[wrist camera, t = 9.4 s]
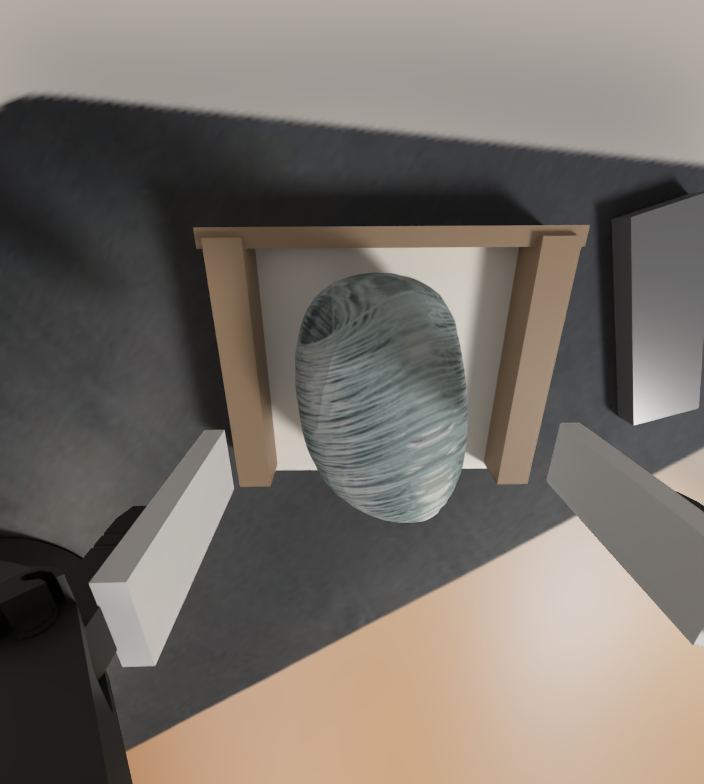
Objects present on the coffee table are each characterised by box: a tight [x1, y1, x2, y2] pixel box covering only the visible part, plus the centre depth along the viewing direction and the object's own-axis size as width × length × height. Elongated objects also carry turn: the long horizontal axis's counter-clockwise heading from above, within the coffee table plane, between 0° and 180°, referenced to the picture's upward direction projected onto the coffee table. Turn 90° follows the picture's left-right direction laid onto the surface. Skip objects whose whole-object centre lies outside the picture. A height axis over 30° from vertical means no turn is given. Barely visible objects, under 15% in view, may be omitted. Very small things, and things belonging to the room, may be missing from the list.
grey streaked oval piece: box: [295, 272, 468, 523], centre depth 19 cm, size 14×10×10 cm
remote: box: [612, 192, 704, 426], centre depth 23 cm, size 4×14×2 cm, turn 18°
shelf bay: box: [193, 225, 590, 487], centre depth 22 cm, size 20×16×4 cm
